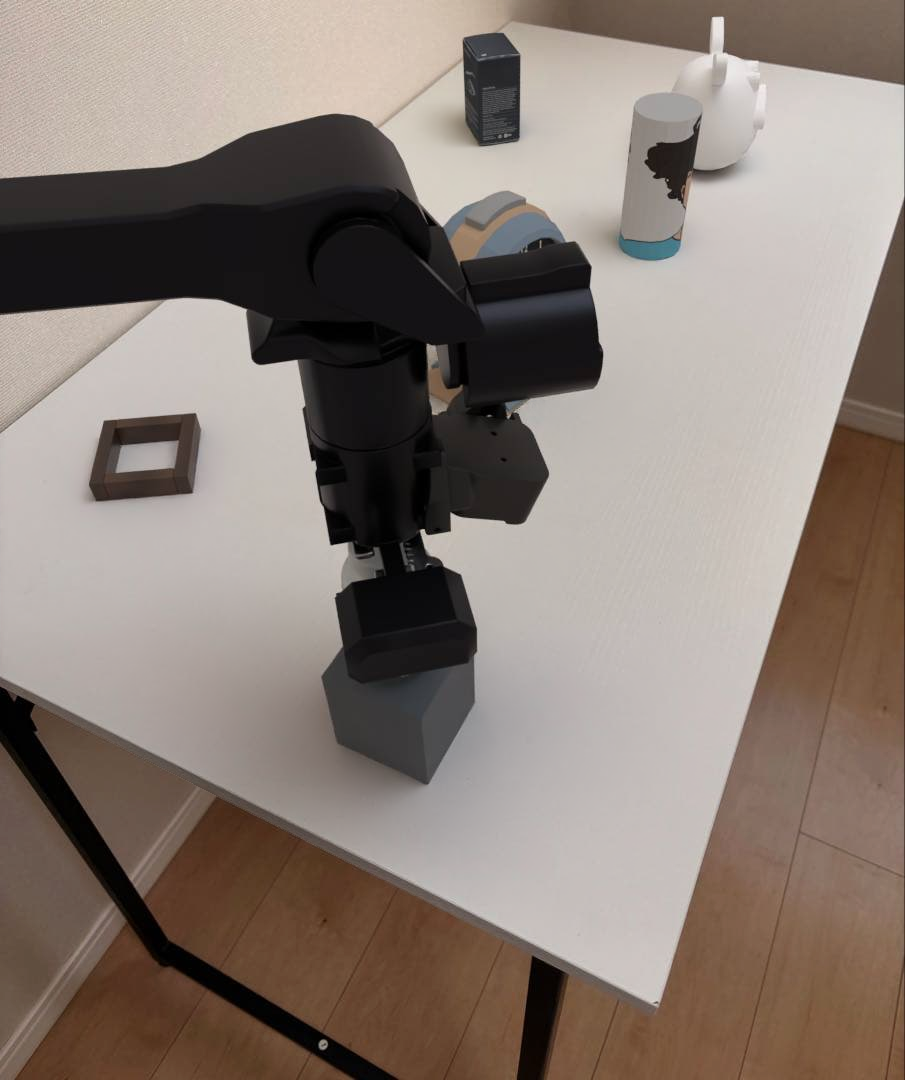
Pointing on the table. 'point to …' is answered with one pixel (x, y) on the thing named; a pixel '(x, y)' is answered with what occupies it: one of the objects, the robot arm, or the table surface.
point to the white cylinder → (659, 174)
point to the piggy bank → (723, 102)
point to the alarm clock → (494, 247)
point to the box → (492, 88)
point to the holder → (147, 481)
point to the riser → (400, 714)
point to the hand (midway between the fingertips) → (392, 614)
